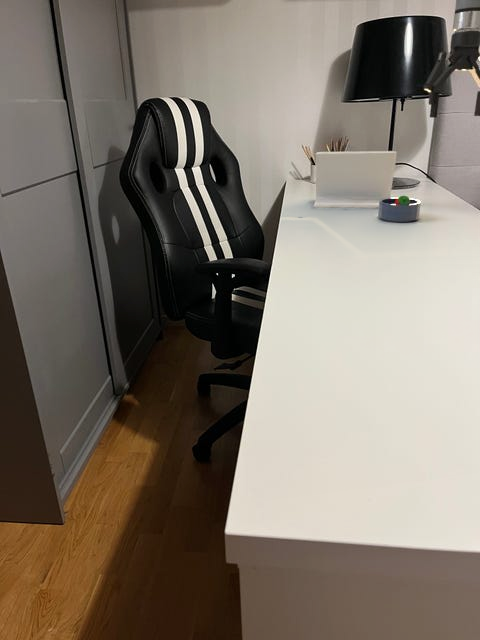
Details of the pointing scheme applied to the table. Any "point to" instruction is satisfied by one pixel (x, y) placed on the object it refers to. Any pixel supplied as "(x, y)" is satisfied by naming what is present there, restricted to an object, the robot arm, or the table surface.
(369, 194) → the tablet stand
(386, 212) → the bowl
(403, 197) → the strawberry
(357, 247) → the table surface
